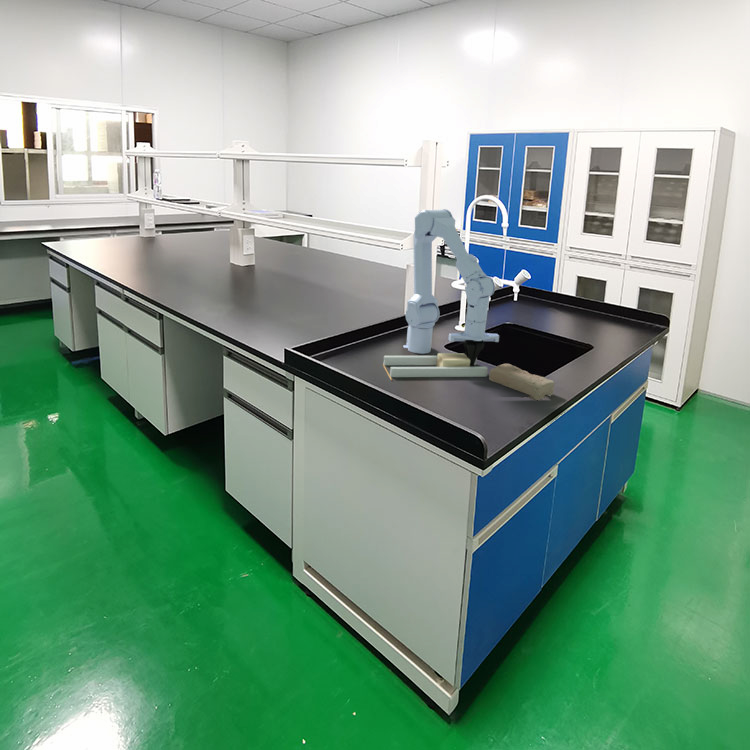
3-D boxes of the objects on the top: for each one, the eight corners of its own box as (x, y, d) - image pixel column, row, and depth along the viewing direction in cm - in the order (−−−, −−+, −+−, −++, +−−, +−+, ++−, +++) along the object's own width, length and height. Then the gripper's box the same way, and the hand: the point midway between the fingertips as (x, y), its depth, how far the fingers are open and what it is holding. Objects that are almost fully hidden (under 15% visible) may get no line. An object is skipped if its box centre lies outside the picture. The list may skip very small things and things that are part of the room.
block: (436, 366, 176) (437, 353, 175) (462, 366, 178) (463, 353, 176) (442, 373, 171) (443, 360, 169) (468, 373, 172) (470, 360, 171)
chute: (382, 365, 176) (383, 355, 175) (473, 365, 182) (474, 355, 180) (391, 380, 165) (391, 369, 164) (487, 379, 171) (488, 369, 169)
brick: (554, 395, 164) (557, 379, 162) (537, 402, 158) (540, 385, 156) (504, 377, 175) (506, 362, 173) (486, 383, 169) (488, 367, 167)
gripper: (455, 323, 165) (450, 369, 170) (505, 323, 168) (499, 369, 172) (448, 316, 171) (443, 361, 176) (496, 317, 174) (490, 361, 179)
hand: (470, 364), depth 175 cm, fingers closed
